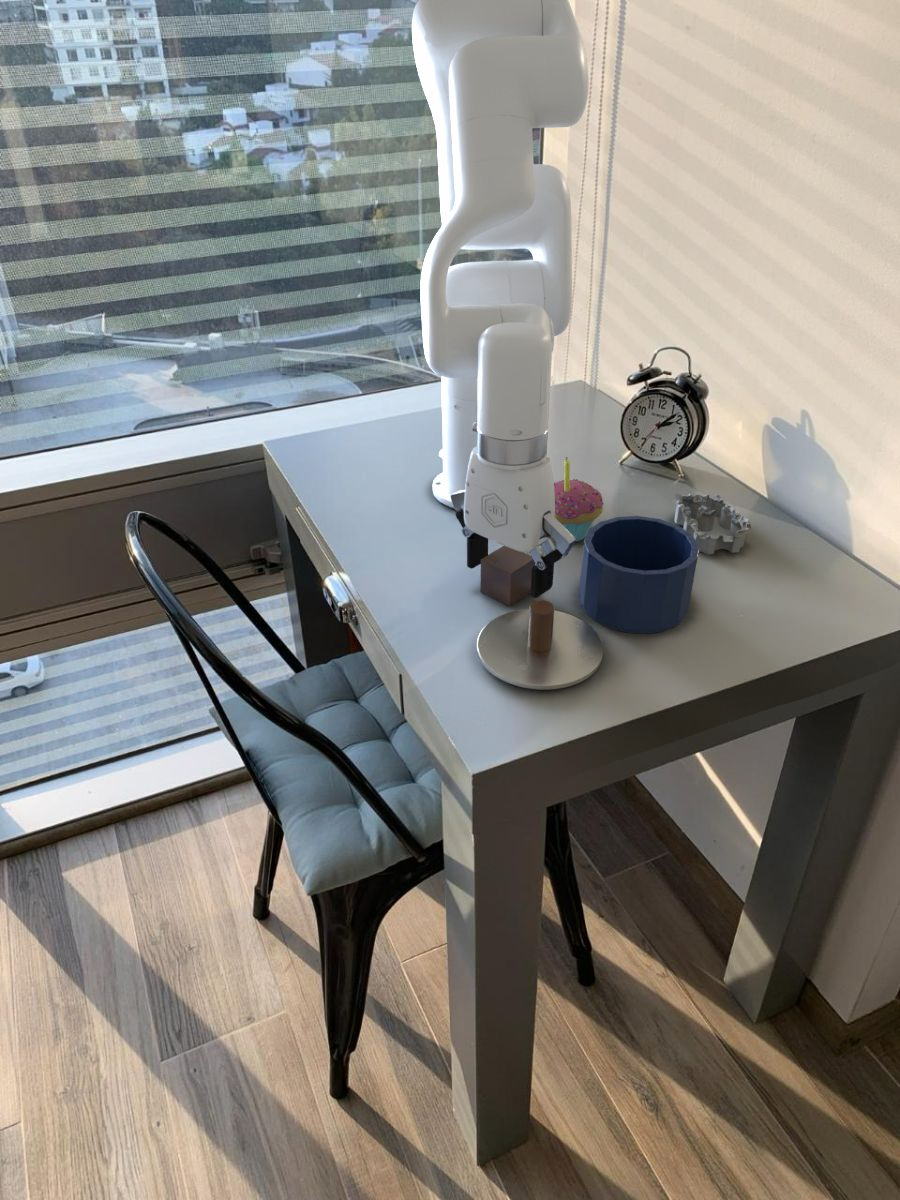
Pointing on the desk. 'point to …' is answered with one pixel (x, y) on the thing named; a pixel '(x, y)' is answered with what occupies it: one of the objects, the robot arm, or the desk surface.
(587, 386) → the desk surface
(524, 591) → the block
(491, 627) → the lid
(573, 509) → the cupcake
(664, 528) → the blue bowl
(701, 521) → the egg carton
